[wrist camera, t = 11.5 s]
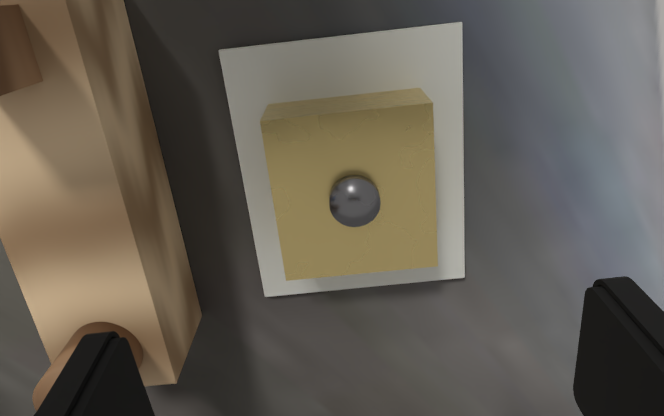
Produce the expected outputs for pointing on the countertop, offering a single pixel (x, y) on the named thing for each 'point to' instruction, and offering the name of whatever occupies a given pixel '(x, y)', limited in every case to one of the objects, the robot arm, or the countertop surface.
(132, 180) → the plane body
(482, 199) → the countertop surface
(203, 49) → the countertop surface
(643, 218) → the countertop surface
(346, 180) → the lever cap
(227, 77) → the mat
